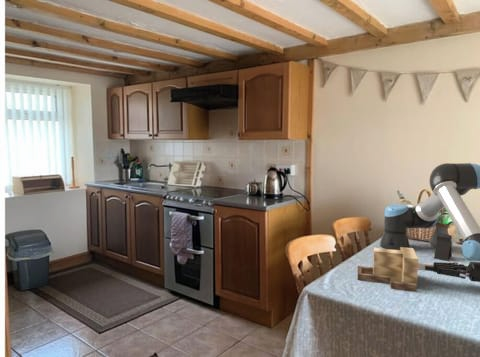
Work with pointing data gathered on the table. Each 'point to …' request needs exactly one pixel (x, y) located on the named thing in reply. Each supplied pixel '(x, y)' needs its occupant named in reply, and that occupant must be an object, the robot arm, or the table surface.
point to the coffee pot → (441, 230)
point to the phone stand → (443, 247)
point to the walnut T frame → (383, 279)
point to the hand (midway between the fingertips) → (415, 265)
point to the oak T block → (396, 264)
